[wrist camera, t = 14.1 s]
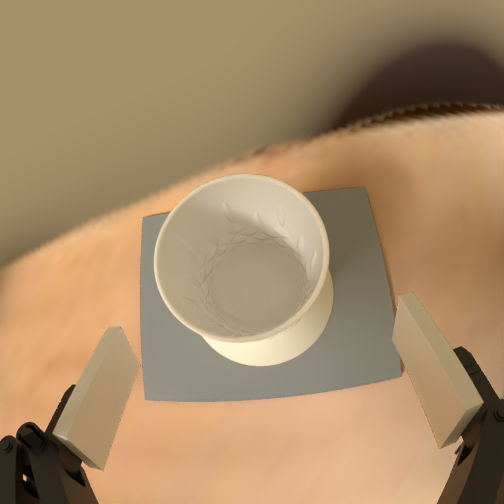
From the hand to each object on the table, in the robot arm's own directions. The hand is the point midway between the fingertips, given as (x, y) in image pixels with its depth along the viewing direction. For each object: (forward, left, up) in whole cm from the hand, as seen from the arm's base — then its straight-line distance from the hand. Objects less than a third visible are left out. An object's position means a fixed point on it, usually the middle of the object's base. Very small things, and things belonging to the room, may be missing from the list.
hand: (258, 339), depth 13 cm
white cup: (0, +4, -9) cm, 9 cm away
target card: (0, +4, -9) cm, 10 cm away
